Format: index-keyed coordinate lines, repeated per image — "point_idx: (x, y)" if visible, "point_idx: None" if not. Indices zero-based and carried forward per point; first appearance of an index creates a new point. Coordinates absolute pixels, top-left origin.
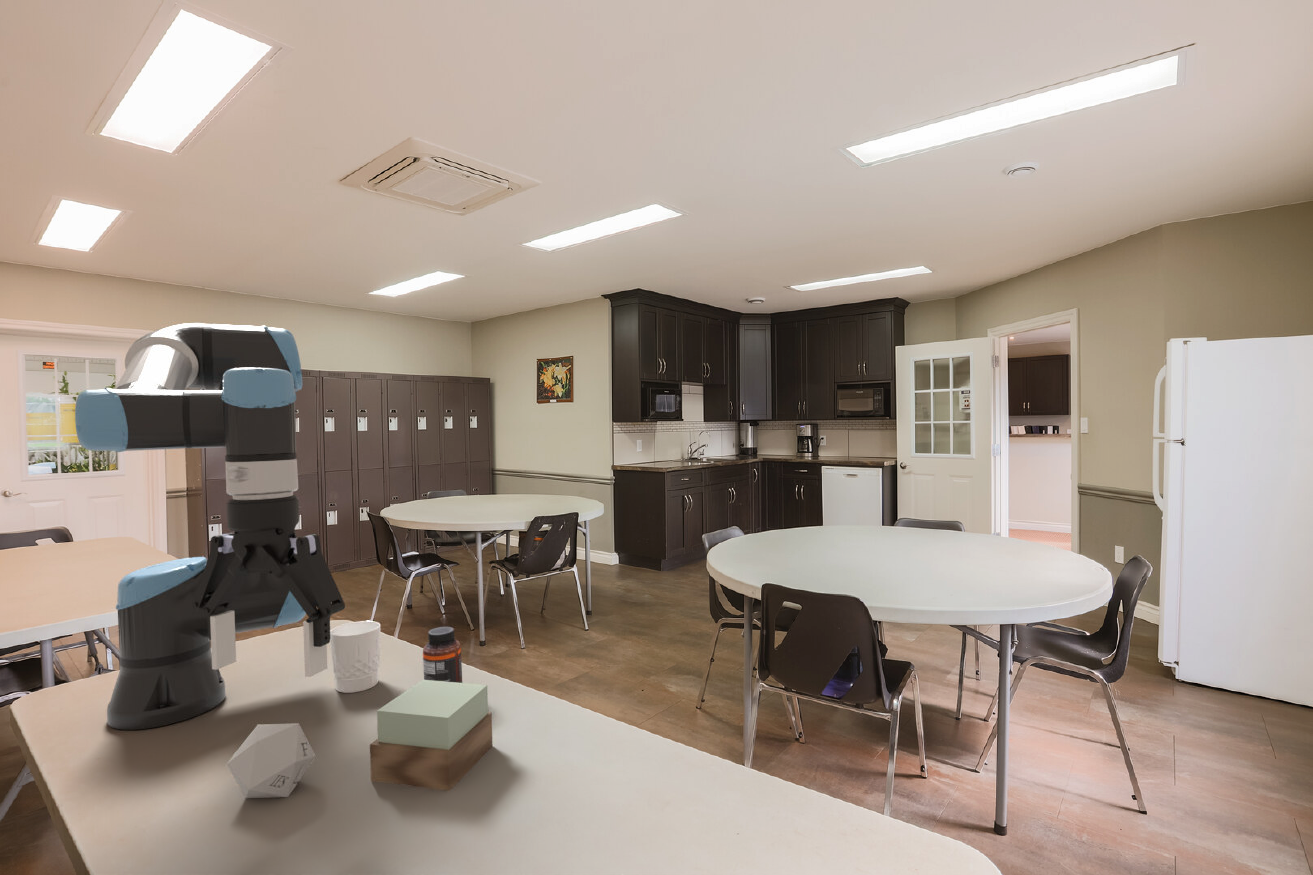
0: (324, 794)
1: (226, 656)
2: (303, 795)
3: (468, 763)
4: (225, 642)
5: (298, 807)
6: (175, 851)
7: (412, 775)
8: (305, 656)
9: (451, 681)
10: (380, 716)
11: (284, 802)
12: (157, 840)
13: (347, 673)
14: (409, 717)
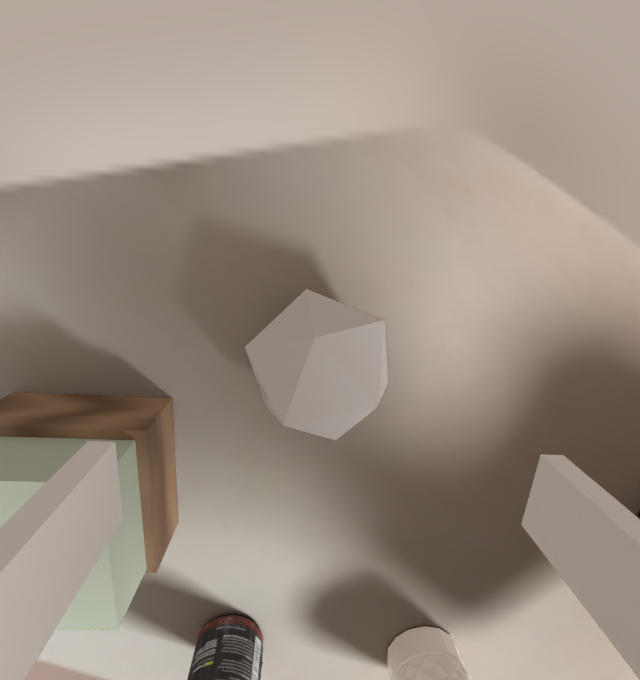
0: (221, 350)
1: (554, 517)
2: None
3: None
4: (603, 568)
5: (237, 311)
6: (348, 172)
7: (77, 402)
8: (59, 500)
9: (192, 669)
10: None
11: (272, 320)
12: (403, 194)
13: (429, 666)
14: (10, 474)
